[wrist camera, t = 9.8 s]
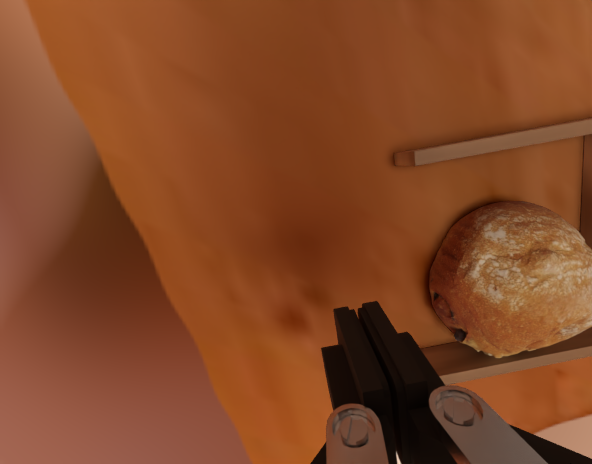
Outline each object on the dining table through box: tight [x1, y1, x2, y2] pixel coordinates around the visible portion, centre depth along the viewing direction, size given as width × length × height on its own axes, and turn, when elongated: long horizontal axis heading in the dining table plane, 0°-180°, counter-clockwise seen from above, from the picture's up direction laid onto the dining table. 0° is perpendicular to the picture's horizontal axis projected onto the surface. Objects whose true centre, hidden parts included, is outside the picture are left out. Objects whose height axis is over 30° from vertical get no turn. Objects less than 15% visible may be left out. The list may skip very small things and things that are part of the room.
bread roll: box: [429, 201, 592, 358], centre depth 20 cm, size 10×10×8 cm
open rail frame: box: [394, 118, 592, 385], centre depth 20 cm, size 16×14×3 cm
